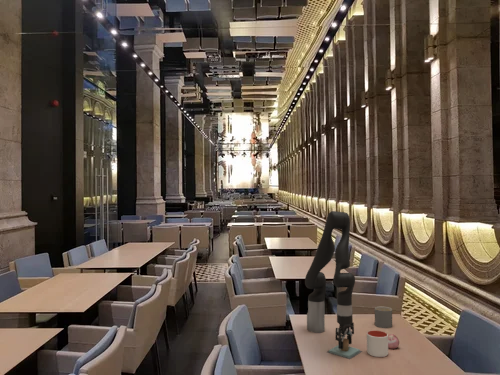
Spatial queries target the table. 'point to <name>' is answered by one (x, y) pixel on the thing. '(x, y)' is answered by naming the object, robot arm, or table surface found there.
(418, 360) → the table surface
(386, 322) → the coffee mug
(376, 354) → the cup
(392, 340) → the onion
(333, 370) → the table surface
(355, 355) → the mat
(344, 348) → the lid
